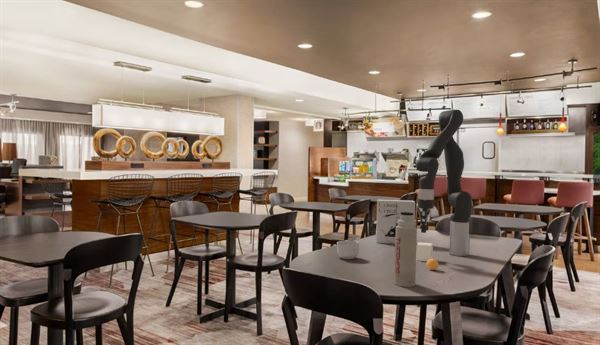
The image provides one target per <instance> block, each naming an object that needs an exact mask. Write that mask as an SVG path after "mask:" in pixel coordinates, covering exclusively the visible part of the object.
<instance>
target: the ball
mask: <svg viewBox="0 0 600 345" xmlns="http://www.w3.org/2000/svg"><path fill="white" fill-rule="evenodd" d="M426 267H427V269H429V270H430V271H435V270H437V269H438V268H439V262H438V260H437V259H436V258H432V259H429V260H428V261H427V262H426Z"/></svg>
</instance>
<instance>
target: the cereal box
mask: <svg viewBox="0 0 600 345" xmlns="http://www.w3.org/2000/svg"><path fill="white" fill-rule="evenodd" d="M401 212H411V213H413V220H414V221H415V222H416V220H415V219H416V201H415V200H408V199H407V200H404V199H376V234H375V235H376V236H375V243H376V242H378V243H377V244H390V243H392V245H395V239H396V226H398V223H397V222H398V220H400V216H401V214H400V213H401Z"/></svg>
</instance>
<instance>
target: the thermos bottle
mask: <svg viewBox="0 0 600 345" xmlns="http://www.w3.org/2000/svg"><path fill="white" fill-rule="evenodd" d="M400 214H401V216H400V220H398V222H397V223H398V226H396V239H395V244H394V246H395V248H394V249H395V250H394V252H395V254H394V255H395V256H394V274H393V275H394V278H393V281H394V282H393V283H394V285H396V286H398V287H403V288H404V287H405V288H411V287H414V286H416V275H417V274H416V273H417V272H416V270H417V269H416V265H417V260H416V250H417V243H418V241H417V240H418V238H417V236H418V235H417V234H418V228H417V226H416V225H417V224H416V220H415V221H414V220H413V213H411V212H401V213H400Z"/></svg>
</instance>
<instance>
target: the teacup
mask: <svg viewBox="0 0 600 345" xmlns="http://www.w3.org/2000/svg"><path fill="white" fill-rule="evenodd" d="M359 243H360V242H359V241H357V240H349V239H345V240H340V241H337V242H336V251H337V255H338V256H339V257H340V258H341V259H343V260H353V259H355V258H356V257H358V255H359V253H360V250H359V248H360V244H359Z"/></svg>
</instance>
